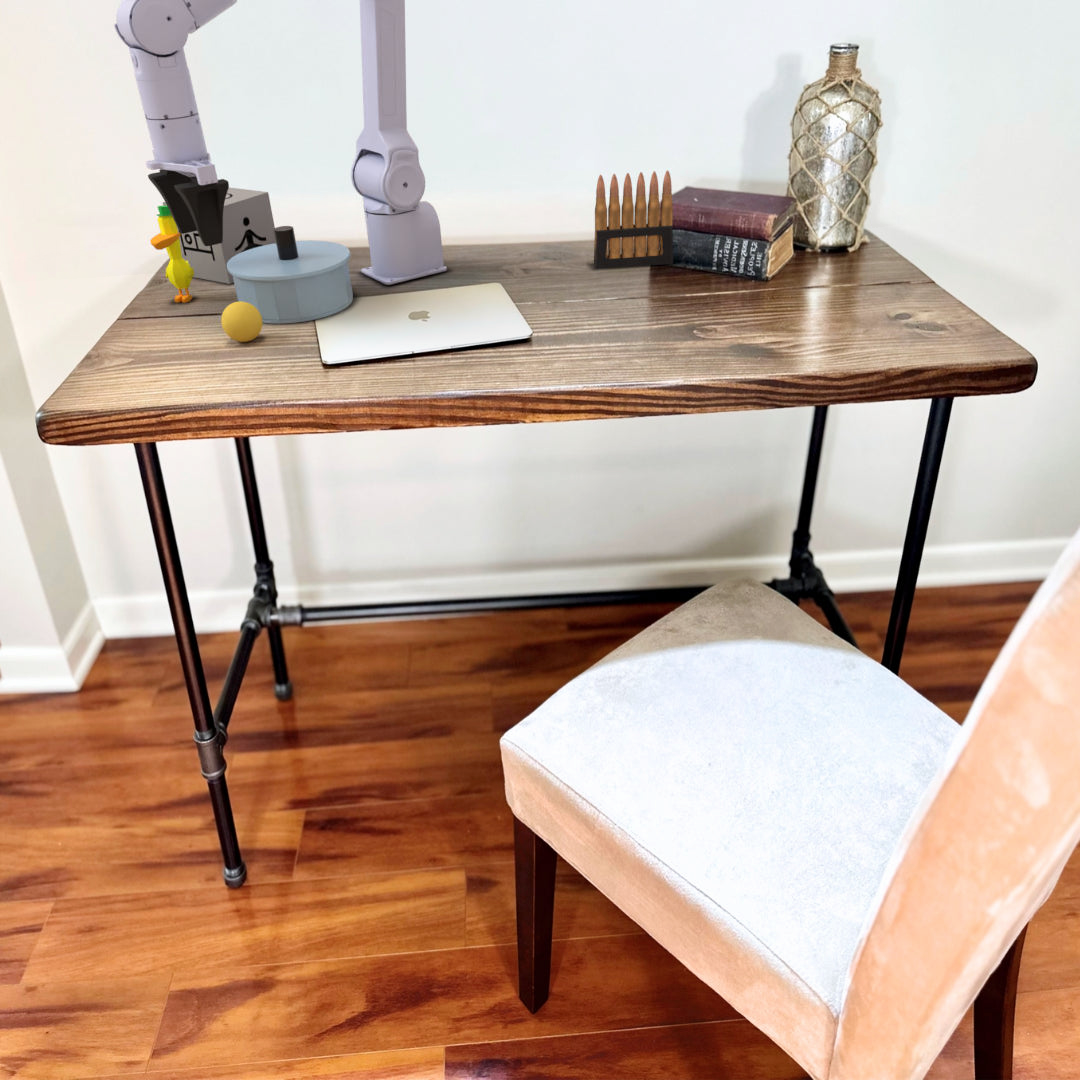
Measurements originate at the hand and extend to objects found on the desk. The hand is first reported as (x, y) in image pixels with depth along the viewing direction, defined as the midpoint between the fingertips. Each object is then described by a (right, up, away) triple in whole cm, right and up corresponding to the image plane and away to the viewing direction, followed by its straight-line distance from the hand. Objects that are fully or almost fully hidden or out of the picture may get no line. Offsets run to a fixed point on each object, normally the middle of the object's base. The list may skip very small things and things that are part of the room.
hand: (201, 237), depth 116 cm
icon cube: (-4, +3, +23) cm, 24 cm away
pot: (+9, -6, +9) cm, 14 cm away
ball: (+6, -11, -3) cm, 12 cm away
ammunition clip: (+53, +1, +17) cm, 56 cm away
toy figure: (-7, -5, +12) cm, 15 cm away
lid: (+9, -1, +6) cm, 11 cm away
